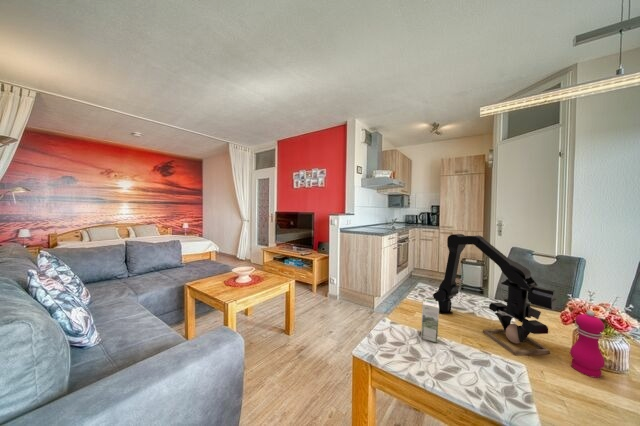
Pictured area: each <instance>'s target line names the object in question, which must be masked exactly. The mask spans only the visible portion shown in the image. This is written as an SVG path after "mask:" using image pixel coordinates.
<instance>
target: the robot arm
mask: <svg viewBox="0 0 640 426" xmlns="http://www.w3.org/2000/svg"><path fill="white" fill-rule="evenodd" d="M446 243H447V244H446V245H447V248H448V256H447V260H446V261H447V263H446V268H445V274H444V277H443V278H444V279H443V280H442V281H441V283H439V287H438V289H437V291H436V292H434V293H432V298H433V299H434V301H438V305H439V314H443V315H446V314H453V311H452V299H454V297H456V296H457V295H458V294H459V289H460V285H459V284H457V281H456V280H457V274H458V268H459V264H460V259H461V254H462V252H463V250H464V249H465V248H466V246H467V245H470V246H471V245H472V246H473V245H474V246H475V247H476V248H477V249H478V250H480V251H481V252H482V253H483V254H484V255H485V256H487V257H488V258H489V259H490V260H491V261H493V262H494V263H495V264H496V265H497V266H498V267H499V268H500V270H501V272H502V274H503V275H504V276H505V277H506V279H505V280H504V281H501V285H503V286H506V287H507V294H506V297H507V298H503V302H505V303H506V304H505V303H502V302H490V303H489V305H488V310H490V311H491V312H494V315H495V316H496V317H497V319H498V320H499V322H500V324H501V326H502V329H504V330H505V332H506V328H507V327H508V326H509V325H510V324H512V322H511V321H512V320H513V319H515V320H517V321H518V322H520V323H521V325H518V326H517V330H518V337H519V341H520V343H519V344H523V343H524V342H525V341H526V340H525V339H526V338H527V337H529V335H530V334H532V335H544V334H545V335H546V334H547V335H548V334H549V327H548V326H547V325H546V324H544V323H542V322H541V321H538V320H539V318H540V316H541V314H542V312H541V311H540V310H538V309H536V308H534V307H531V305H530V304H532V305H535V306H538V307H540V308H544V309H546V310H547V309H548V310H550V311H555V310H556V308H557V304H558V298H557V295H556V291H555V290H554V289H550V288H544V287H541V286H540V287H539V285H538V284H537V282H536V281H535V279H533V277H532V275H531V271H530V270H529V268H527V267H525V266H524V265H522V264H521V263H518V262H517V261H514V260H512V259H511V258H509V257H507V255H505V254H503V253H502V252H501V251H500V250H499V249H498V248H496V247H495V246H493V244H491V243H490V242H489V241H487V239H485V238H484V237H483V236H481V235H464V234H462V233H454V234H452V233H451V234H450V235H448V237H447V240H446ZM528 302H529V303H528ZM531 318H534V319H535V320H533V319H531ZM529 319H531V320H529Z"/></svg>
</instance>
